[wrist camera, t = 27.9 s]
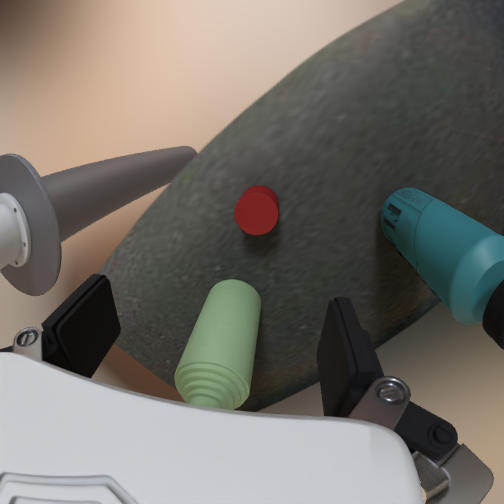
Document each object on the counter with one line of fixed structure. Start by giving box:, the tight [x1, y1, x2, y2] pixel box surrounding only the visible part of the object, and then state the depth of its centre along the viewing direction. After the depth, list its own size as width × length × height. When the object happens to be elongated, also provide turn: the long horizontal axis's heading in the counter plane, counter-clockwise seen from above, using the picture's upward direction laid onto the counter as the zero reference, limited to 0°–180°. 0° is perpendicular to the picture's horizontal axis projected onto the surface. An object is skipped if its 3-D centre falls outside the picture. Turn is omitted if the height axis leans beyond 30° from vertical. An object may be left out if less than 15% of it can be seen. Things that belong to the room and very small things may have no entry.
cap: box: [234, 186, 279, 235], centre depth 26 cm, size 4×4×4 cm
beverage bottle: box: [380, 187, 504, 349], centre depth 17 cm, size 6×7×20 cm
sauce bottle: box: [175, 280, 261, 410], centre depth 24 cm, size 6×6×18 cm
